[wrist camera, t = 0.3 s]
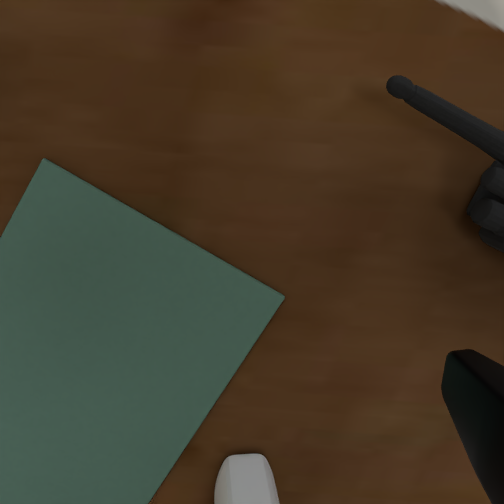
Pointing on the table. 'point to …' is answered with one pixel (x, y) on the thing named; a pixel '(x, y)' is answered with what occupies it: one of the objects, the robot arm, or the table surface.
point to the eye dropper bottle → (245, 481)
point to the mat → (109, 344)
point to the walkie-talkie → (478, 133)
